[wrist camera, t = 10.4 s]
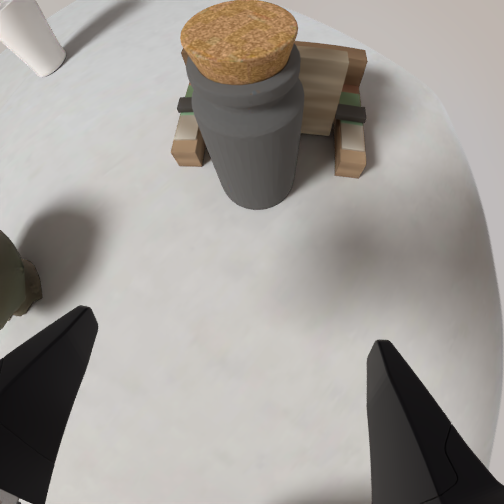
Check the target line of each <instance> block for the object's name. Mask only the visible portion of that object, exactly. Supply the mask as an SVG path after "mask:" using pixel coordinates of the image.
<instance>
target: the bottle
mask: <svg viewBox="0 0 504 504" xmlns="http://www.w3.org/2000/svg"><path fill="white" fill-rule="evenodd" d="M297 32H298V25H297V22H296V20H295V18H294V17H293V16H292V14H291V13H289V12H288V11H287V10H285V9H283V8H282V7H280V6H278V5H275V4H272V3H269V2H264V1H258V0H235V1H229V2H223V3H220V4H217V5H214V6H211V7H208V8H206V9H204V10H202V11H201V12H199V13H197V14H196V15H194V16H193V17H192V18H191V19H190V20H189V21H188V22H187V23H186V24H185V26H184V27H183V29H182V31H181V37H180V39H181V44H182V46H183V48H184V49H185V51H186V52H187V54H188V55H189V56H188V58H187V63H186V71H187V75H188V78H189V81H190V84H191V86H192V88H193V89H194V90H193V93H192V109H193V112H194V116H195V118H196V121H197V124H198V126H199V129H200V131H201V134H202V137H203V139H204V142H205V144H206V147H207V150H208V152H209V155H210V157H211V160H212V162H213V165H214V167H215V169H216V172H217V174H218V177H219V179H220V182H221V184H222V186H223V188H224V191H225V192H226V194H227V195H228V197H229V198H230V199H231V200H232V201H233V202H235V203H236V204H237V205H239V206H242V207H244V208H247V209H253V210H262V209H267V208H270V207H273V206H275V205H277V204H278V203H280V202H281V201H282V200H283V199H284V198H285V197H286V196H287V195H288V193H289V192H290V190H291V187H292V184H293V181H294V175H295V169H296V163H297V155H298V148H299V141H300V134H301V126H302V118H303V109H304V89H303V86H302V83H301V81H300V79H299V78H298V77H299V73H300V63H301V57H300V52H299V50H298V48H297V46H296V45H295V43H294V41H295V39H296V36H297Z"/></svg>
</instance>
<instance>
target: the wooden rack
mask: <svg viewBox="0 0 504 504" xmlns="http://www.w3.org/2000/svg"><path fill="white" fill-rule="evenodd" d="M294 43H295V45H296V46H307V47H317V48H325V49H333V50H340V51H347V53H348V59H349V65H348V69H347V73H346V77H345V81H344V84H343V88H342V92H341V95H340V99H339V103H338V104H345V105H352V106H358V107H361V101H360V93H359V86H360V83H361V80H362V77H363V74H364V71H365V68H366V64H367V57H366V52H365V50H361V49H355V48H349V47H343V46H336V45H329V44H320V43H311V42H300V41H294ZM181 54H182V57H183V60H184V62H185V65H186V63H187V58H188V56H189V55H188V54H187V52H186V51H185V49H184V48H183V50H182V52H181ZM193 90H194V89H193V88H192V86H191V84H190V82H189V86H188V89H187V92H186V96H185V97H192V93H193ZM205 147H206V144H205V142H204V139H203V137H202V134H201V131H200V129H199V126H198V124H197V121H196V118H195V116H194V112H183V113H181V114H180V118H179V121H178V125H177V129H176V133H175V137H174V141H173V145H172V149H171V153H172V155H173V157H174V158H175V160H176V161H177V163H178V165H179V166H198V167H202V163H203V158H204V153H205ZM334 148H335V176H343V177H351V178H359V176H360V174H361V173H362V171H363V169H364V168H365V166H366V154H365V141H364V129H363V123H360V122H353V121H346V120H339V119H335V117H334Z"/></svg>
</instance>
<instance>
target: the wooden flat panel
mask: <svg viewBox="0 0 504 504" xmlns="http://www.w3.org/2000/svg"><path fill="white" fill-rule="evenodd" d="M297 48H298V50H299V52H300V57H301V63H300V73H299V77H298V78H299V79H300V81H301V83H302V86H303V89H304V109H303V118H302V126H301V133H305V134H315V135H325V136H329V135H330V131H331V128H332V124H333V121H334V117H335V119H339V120H346V121H353V122H360V123H365V121H366V113H365V107H358V106H352V105H345V104H338V103H339V99H340V95H341V92H342V88H343V84H344V81H345V77H346V73H347V69H348V65H349V59H348V53H347V51H340V50H333V49H325V48H317V47H307V46H297ZM177 110H178V112H179V113H183V112H193V109H192V97H182V98H180V99H179V103H178V106H177Z"/></svg>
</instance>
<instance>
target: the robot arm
mask: <svg viewBox="0 0 504 504" xmlns="http://www.w3.org/2000/svg"><path fill="white" fill-rule="evenodd" d="M97 332H98V323H97V321H96V318H95V316H94V314H93V311H92V309H91V308H90V307H87V306H82V305H80V306H78V307H76V308H74V309H73V310H71V311H70V312H68V313H67V314H65V315H64V316H62V317H61V318H59V319H58V320H56V321H55V322H53V323H52V324H51V325H49V326H48V327H46V328H45V329H43V330H42V331H40V332H39V333H37V334H36V335H34V336H33V337H32V338H30V339H29V340H27V341H26V342H24V343H23V344H21V345H20V346H19V347H17V348H16V349H14V350H13V351H12V352H10V353H9V354H7V355H6V356H5V357H4V358H2V359H0V504H21V503H20V502H19V498H20V499H23V500H25V501H27V502H30V503H32V504H45V502H46V497H47V493H48V488H49V484H50V480H51V476H52V472H53V469H54V465H55V464H54V463H55V461H56V457H57V454H58V450H59V447H60V443H61V440H62V437H63V434H64V431H65V427H66V424H67V421H68V418H69V415H70V412H71V409H72V407H73V404H74V401H75V398H76V395H77V393H78V390H79V387H80V384H81V382H82V379H83V377H84V374H85V371H86V368H87V365H88V362H89V359H90V355H91V352H92V348H93V345H94V342H95V338H96V335H97ZM367 417H368V429H369V443H370V459H371V485H372V504H504V485H502V484H501V483H499V482H498V481H497V480H496V479H495V478H494V477H493V475H492V474H491V473H490V472H489V471H488V469H487V468H486V467H485V466H484V465H483V463H482V462H481V461H480V460H479V459H478V458H477V456H476V455H475V454H474V453H473V451H472V450H471V449H470V448H469V447H468V445H467V444H466V443H465V441H464V440H463V439H462V437H461V436H460V434H459V433H458V432H457V430H456V429H455V427H454V426H453V425H452V424H451V422H450V420H449V419H448V418H447V416H446V415H445V413H444V412H443V411H442V409H441V408H440V406H439V405H438V404H437V402H436V401H435V400H434V398H433V397H432V395H431V394H430V393H429V391H428V390H427V389H426V387H425V386H424V385H423V383H422V382H421V381H420V379H419V378H418V377H417V375H416V374H415V373H414V371H413V370H412V369H411V367H410V366H409V365H408V364H407V362H406V361H405V360H404V358H403V357H402V356H401V354H400V353H399V352H398V351H397V349H396V348H395V347H394V345H393V344H392V343H391V342H390V341H389V340H376V341H375V343H374V345H373V347H372V349H371V351H370V353H369V355H368V358H367Z"/></svg>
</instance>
